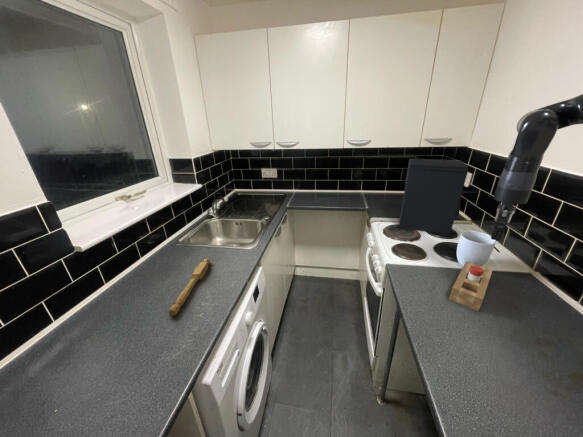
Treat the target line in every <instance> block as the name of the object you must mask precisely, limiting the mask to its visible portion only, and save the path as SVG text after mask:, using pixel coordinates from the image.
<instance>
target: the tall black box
mask: <svg viewBox="0 0 583 437" xmlns="http://www.w3.org/2000/svg"><path fill="white" fill-rule="evenodd" d="M468 172H469V166H468V165H467V164H466V163H464V162H463V161H462V160H454V159H451V160H450V159H445V158H444V159H443V158H441V159H423V158H422V159H421V158H419V157H418V158H417V157H416V158H409V159H408V166H407V171H406V176H405V187H404V192H403V198H402V204H401V210H400V211H399V219H398V222H399V223H398V228H399V229H405V230H413V231H420V232H426V233H433V234H434V233H435V234H441V235H448V236H450V235H451V233H452V229H453V227H454V226H453V225H454V222H455V219H456V218H459V216H460V210H461V197H462V194H463V190H464V186H465V183H466V179H467V176H468Z"/></svg>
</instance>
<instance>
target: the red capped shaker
mask: <svg viewBox="0 0 583 437" xmlns="http://www.w3.org/2000/svg"><path fill="white" fill-rule="evenodd" d="M482 273H483V269H482V268H480V267H477V266H471V268H470V271H469V274H468V277H467V279H468V280H471V281H474V282H476V283H479V281H480V279H481V276H482Z"/></svg>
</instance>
